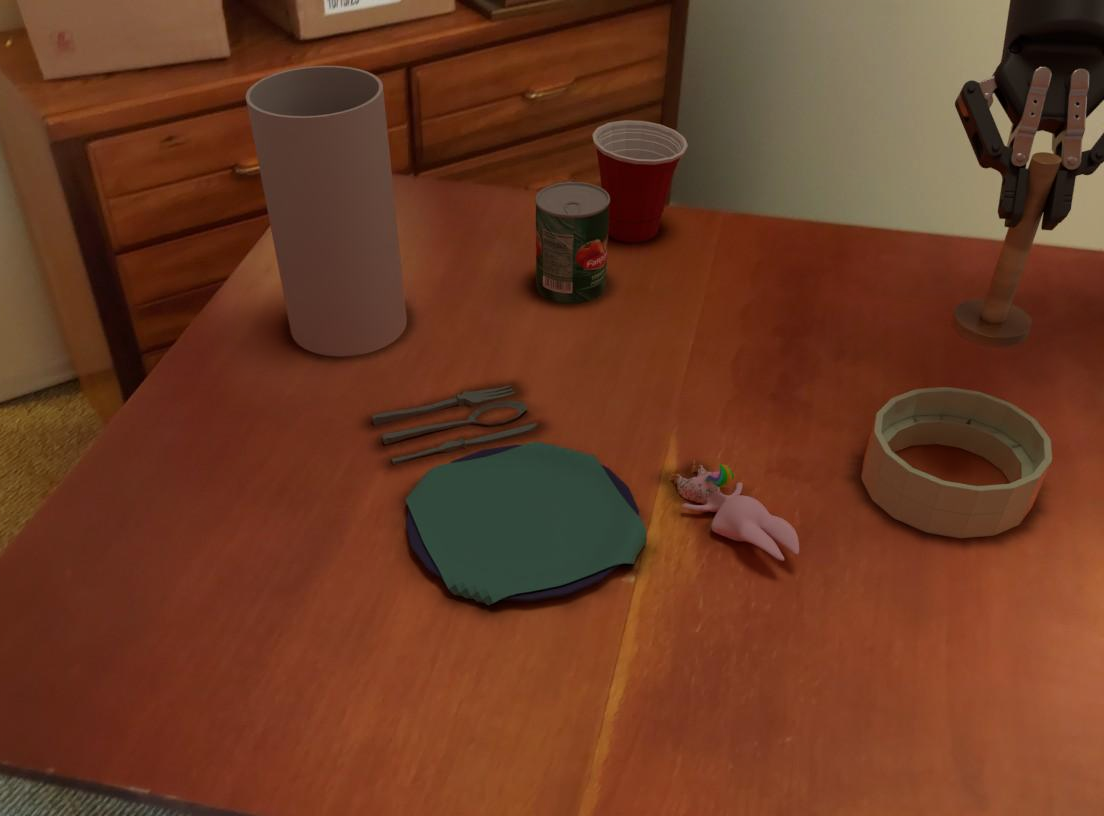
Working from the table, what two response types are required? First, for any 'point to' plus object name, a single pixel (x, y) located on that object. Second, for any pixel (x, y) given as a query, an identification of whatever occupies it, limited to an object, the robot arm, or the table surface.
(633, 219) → the plastic cup
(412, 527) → the cutlery set
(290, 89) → the cylinder vase
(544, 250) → the canned tomato
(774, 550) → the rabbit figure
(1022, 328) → the wooden peg on disc
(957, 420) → the ring
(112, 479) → the table surface
